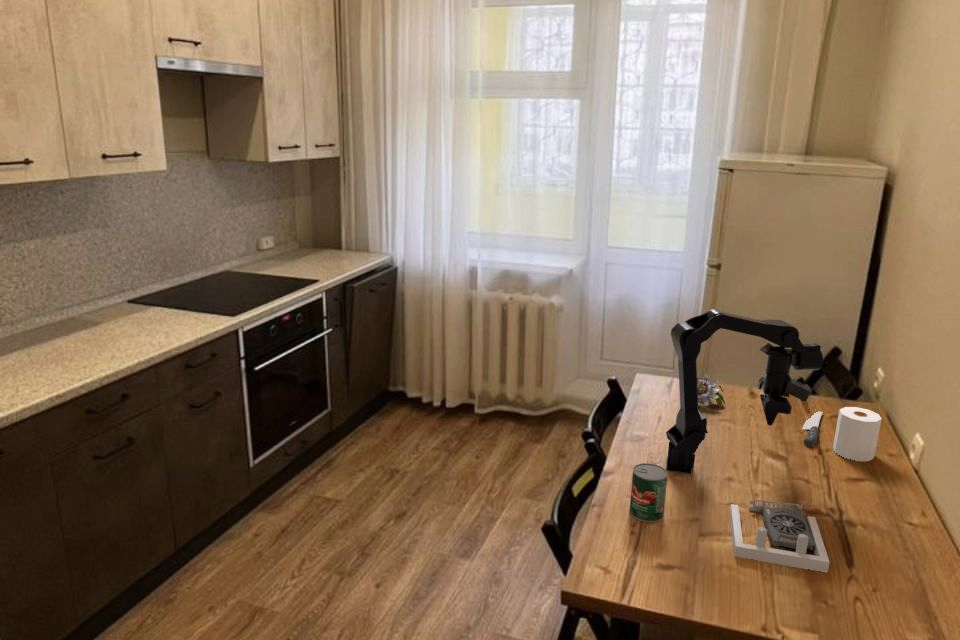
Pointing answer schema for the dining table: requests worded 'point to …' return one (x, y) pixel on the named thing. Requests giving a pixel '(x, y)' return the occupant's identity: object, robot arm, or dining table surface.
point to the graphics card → (784, 523)
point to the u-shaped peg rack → (776, 555)
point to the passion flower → (708, 391)
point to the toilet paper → (857, 433)
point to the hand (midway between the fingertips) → (769, 424)
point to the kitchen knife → (812, 429)
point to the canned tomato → (648, 492)
